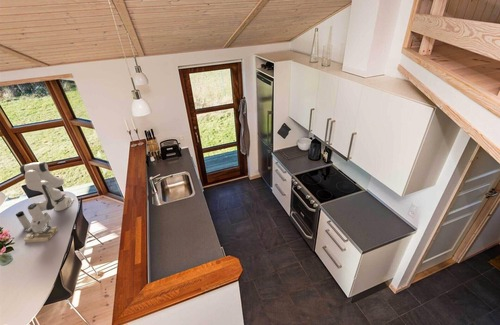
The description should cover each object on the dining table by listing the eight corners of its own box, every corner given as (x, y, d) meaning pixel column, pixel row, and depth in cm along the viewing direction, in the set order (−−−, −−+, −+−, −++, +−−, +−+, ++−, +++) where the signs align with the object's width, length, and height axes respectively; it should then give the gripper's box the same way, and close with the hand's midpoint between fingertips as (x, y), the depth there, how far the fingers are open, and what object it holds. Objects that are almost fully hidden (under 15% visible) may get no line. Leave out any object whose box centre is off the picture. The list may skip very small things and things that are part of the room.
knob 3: (48, 231, 254) (45, 225, 250) (53, 230, 254) (50, 225, 251) (43, 236, 247) (40, 231, 243) (47, 236, 247) (44, 231, 244)
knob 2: (40, 230, 253) (37, 224, 249) (45, 229, 253) (42, 224, 249) (35, 235, 246) (32, 230, 242) (40, 235, 246) (36, 230, 242)
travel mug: (27, 229, 259) (18, 215, 249) (22, 228, 261) (13, 214, 251) (33, 225, 265) (24, 211, 255) (28, 224, 266) (19, 210, 256)
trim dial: (32, 236, 245) (30, 234, 244) (35, 236, 245) (33, 234, 244) (30, 238, 243) (28, 236, 241) (33, 238, 243) (31, 236, 241)
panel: (36, 230, 258) (34, 227, 256) (58, 229, 259) (56, 226, 257) (25, 242, 244) (23, 239, 242) (48, 241, 245) (46, 238, 243)
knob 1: (33, 230, 252) (30, 225, 249) (38, 230, 253) (35, 225, 249) (28, 236, 246) (24, 231, 242) (32, 236, 246) (29, 230, 242)
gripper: (43, 211, 249) (48, 221, 256) (28, 225, 231) (34, 236, 238) (49, 211, 249) (55, 221, 256) (35, 225, 231) (41, 236, 238)
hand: (45, 228), depth 247 cm, fingers open, 8 cm apart
